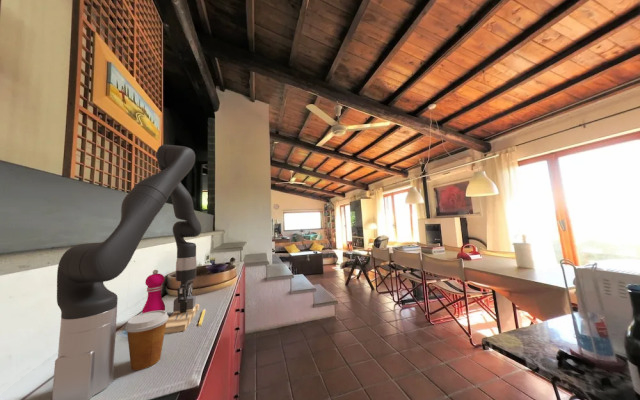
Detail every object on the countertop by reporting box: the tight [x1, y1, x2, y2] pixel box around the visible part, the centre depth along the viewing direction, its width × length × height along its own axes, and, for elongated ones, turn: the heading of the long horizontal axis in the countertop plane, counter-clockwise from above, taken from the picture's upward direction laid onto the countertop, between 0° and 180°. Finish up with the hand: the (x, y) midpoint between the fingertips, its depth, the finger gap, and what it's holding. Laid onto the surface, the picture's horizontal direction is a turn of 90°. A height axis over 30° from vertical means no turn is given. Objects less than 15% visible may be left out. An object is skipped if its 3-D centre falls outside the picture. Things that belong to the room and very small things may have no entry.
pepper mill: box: [141, 269, 166, 314], centre depth 86 cm, size 7×7×20 cm
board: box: [164, 303, 200, 335], centre depth 86 cm, size 22×8×2 cm, turn 17°
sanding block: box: [172, 295, 196, 314], centre depth 91 cm, size 4×7×5 cm, turn 107°
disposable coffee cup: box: [124, 310, 170, 371], centre depth 60 cm, size 10×10×12 cm
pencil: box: [198, 308, 206, 327], centre depth 88 cm, size 16×1×1 cm, turn 22°
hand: (185, 309), depth 91 cm, fingers open, 4 cm apart
